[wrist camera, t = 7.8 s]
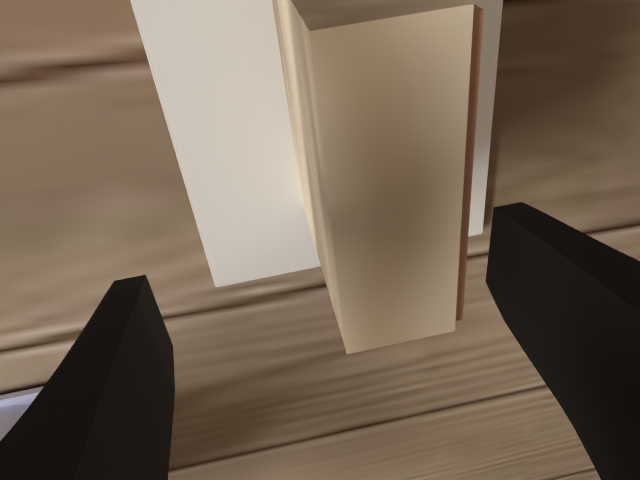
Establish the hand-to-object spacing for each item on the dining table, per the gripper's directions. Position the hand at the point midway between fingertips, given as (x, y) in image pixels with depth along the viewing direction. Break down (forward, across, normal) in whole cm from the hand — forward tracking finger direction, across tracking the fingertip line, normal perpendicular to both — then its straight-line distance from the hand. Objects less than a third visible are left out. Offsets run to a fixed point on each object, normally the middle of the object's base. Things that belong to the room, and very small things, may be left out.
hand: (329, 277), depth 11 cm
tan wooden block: (+10, -2, 0) cm, 10 cm away
